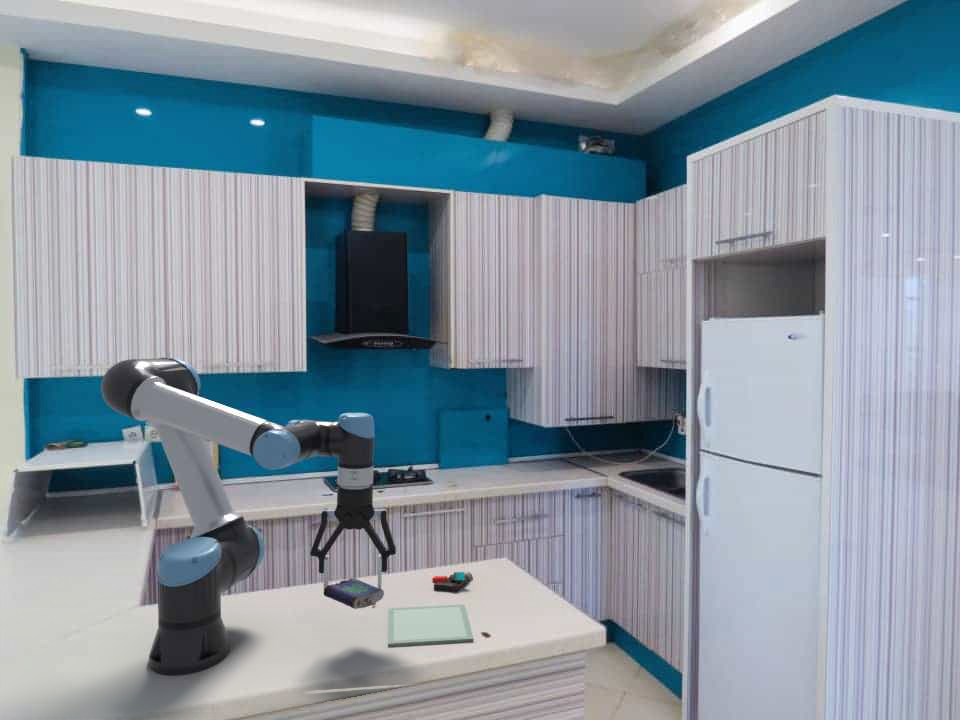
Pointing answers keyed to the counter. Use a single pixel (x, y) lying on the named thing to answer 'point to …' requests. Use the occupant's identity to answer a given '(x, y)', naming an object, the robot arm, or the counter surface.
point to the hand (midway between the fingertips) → (352, 586)
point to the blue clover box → (354, 593)
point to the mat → (428, 625)
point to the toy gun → (451, 581)
